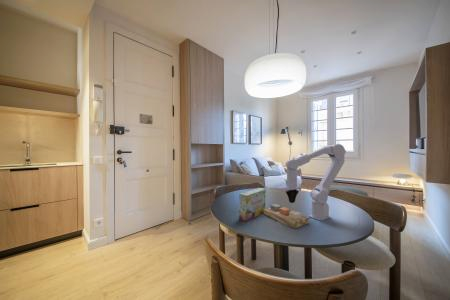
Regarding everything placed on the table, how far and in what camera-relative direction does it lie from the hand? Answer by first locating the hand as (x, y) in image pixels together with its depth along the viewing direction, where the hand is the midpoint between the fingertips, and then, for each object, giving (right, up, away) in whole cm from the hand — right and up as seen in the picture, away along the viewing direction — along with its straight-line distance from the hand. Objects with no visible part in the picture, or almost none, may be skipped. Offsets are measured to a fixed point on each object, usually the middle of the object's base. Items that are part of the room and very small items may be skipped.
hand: (291, 202), depth 104 cm
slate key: (-9, -7, +3) cm, 11 cm away
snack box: (-23, -9, +2) cm, 25 cm away
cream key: (-2, -7, -9) cm, 11 cm away
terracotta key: (-5, -7, -3) cm, 9 cm away
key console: (-5, -9, -3) cm, 10 cm away
